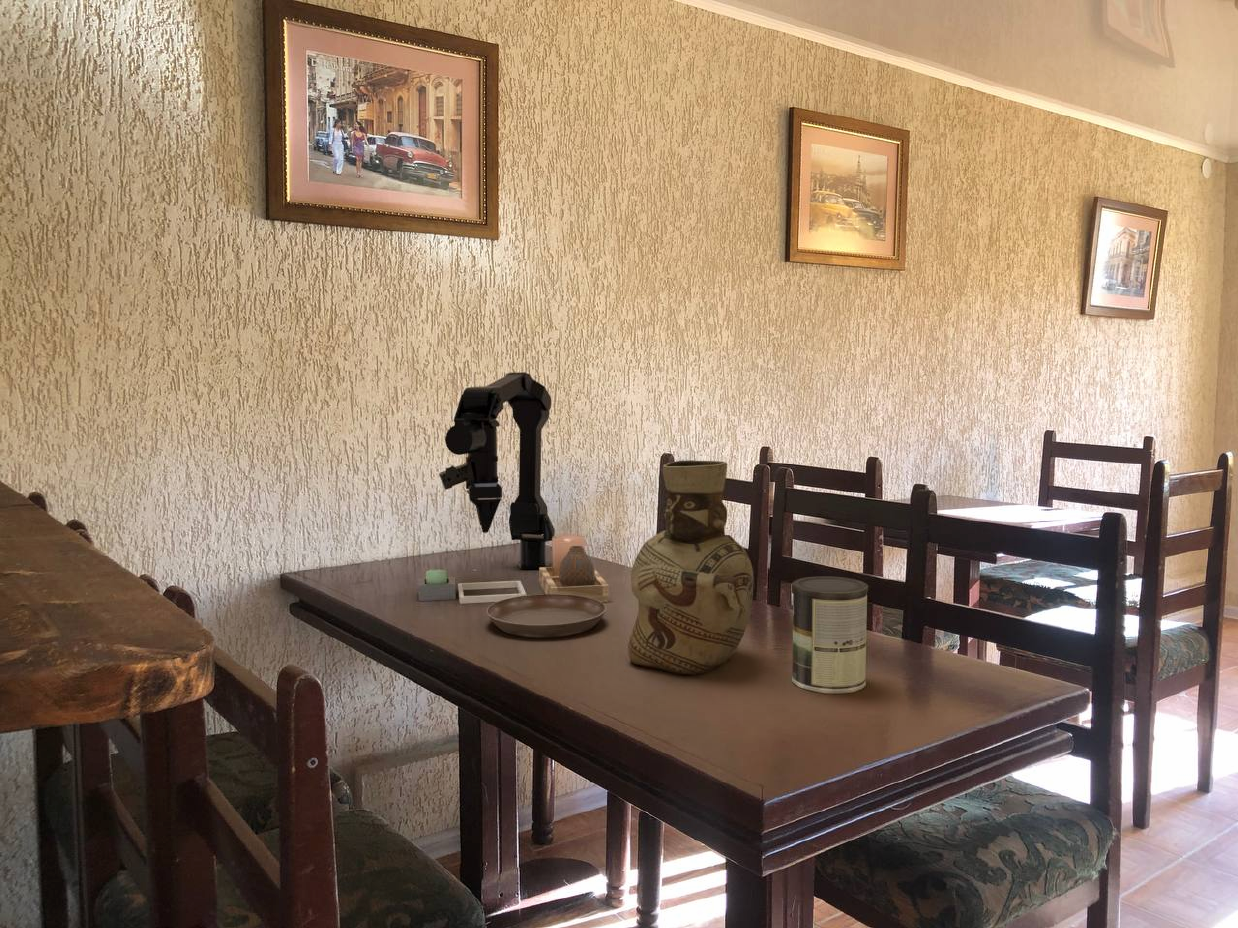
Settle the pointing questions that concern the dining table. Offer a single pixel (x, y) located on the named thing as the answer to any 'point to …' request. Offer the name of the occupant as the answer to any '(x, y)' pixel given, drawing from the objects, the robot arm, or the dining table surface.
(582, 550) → the vase
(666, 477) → the ceramic vessel
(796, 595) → the coffee can
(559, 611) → the plant saucer
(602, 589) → the pallet
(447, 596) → the button housing
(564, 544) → the block
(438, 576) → the button
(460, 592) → the white square frame
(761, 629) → the dining table surface
